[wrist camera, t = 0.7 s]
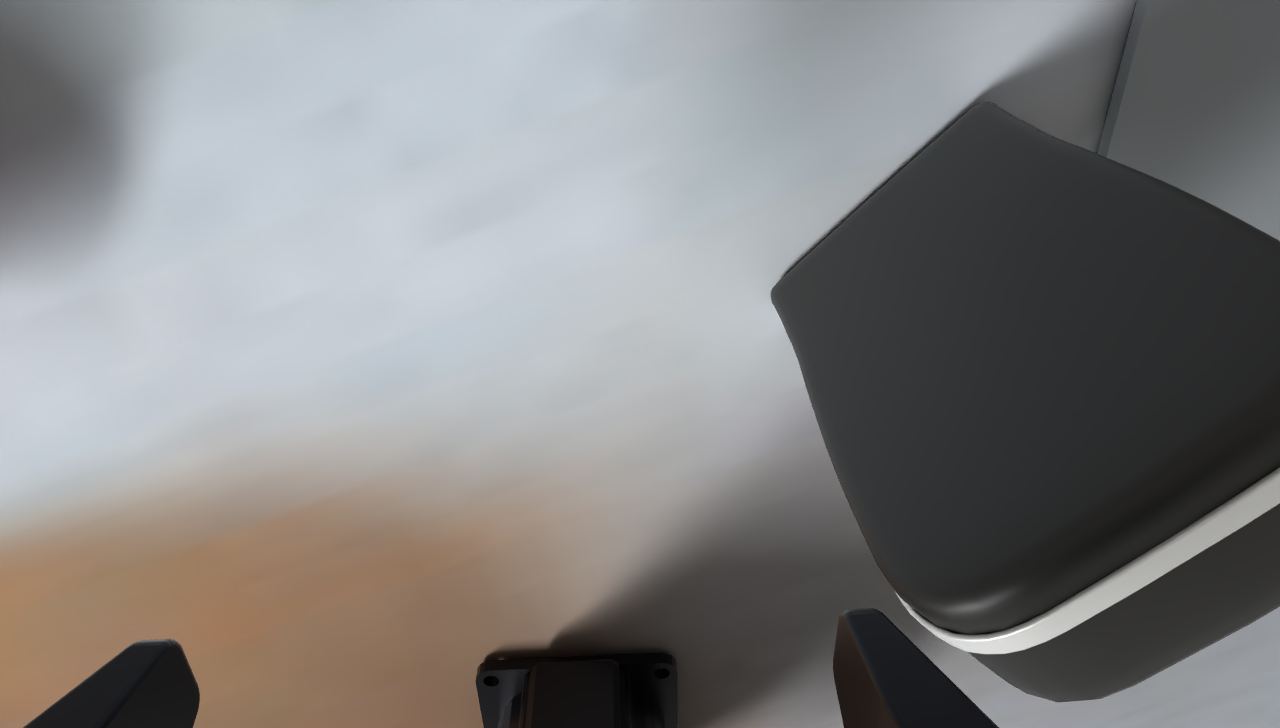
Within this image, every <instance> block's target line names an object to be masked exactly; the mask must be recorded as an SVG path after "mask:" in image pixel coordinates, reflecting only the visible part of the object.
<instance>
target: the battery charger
mask: <svg viewBox="0 0 1280 728" xmlns="http://www.w3.org/2000/svg"><path fill="white" fill-rule="evenodd" d="M771 300H772V303H773V305H774V306H775V308H776V310H777V312H778V314H779V316H780V318H781V320H782V322H783V325H784V327H785V330H786V332H787V334H788V337H789V339H790V341H791V343H792V345H793V348H794V351H795V353H796V356H797V358H798V361H799V364H800V368H801V371H802V374H803V378H804V381H805V385H806V388H807V391H808V394H809V397H810V400H811V403H812V407H813V409H814V412H815V415H816V419H817V422H818V424H819V427H820V430H821V433H822V436H823V439H824V442H825V445H826V448H827V450H828V453H829V456H830V458H831V461H832V463H833V466H834V469H835V471H836V474H837V476H838V479H839V481H840V484H841V486H842V488H843V491H844V493H845V495H846V498H847V500H848V502H849V505H850V507H851V509H852V511H853V514H854V516H855V518H856V520H857V522H858V525H859V527H860V529H861V531H862V534H863V536H864V538H865V540H866V542H867V544H868V546H869V548H870V550H871V553H872V555H873V557H874V559H875V561H876V563H877V565H878V567H879V568H880V570H881V571H882V573H883V574H884V576H885V577H886V579H887V580H888V582H889V583H890V585H891V586H892V588H893V589H894V591H895V592H896V594H897V596H898V597H899V599H900V601H901V602H902V603H903V605H904V606H905V608H906V609H907V610H908V612H909V613H910V614H911V615H912V616H913V617H914V618H915V619H916V620H917V621H918V622H920V623H921V624H922V625H923V626H924V627H925V628H927V629H928V630H929V631H930V632H932V633H933V634H934V635H936V636H937V637H938V638H940V639H942V640H943V641H945V642H947V643H948V644H950V645H952V646H954V647H957V648H959V649H962V650H964V651H967V652H968V653H970V654H971V655H972V656H973V657H975V658H976V659H977V660H978V661H980V662H981V663H982V664H983V665H985V666H986V667H988V668H989V669H990V670H992V671H993V672H994V673H996V674H997V675H998V676H1000V677H1001V678H1003V679H1004V680H1005V681H1007V682H1008V683H1009V684H1011V685H1013V686H1015V687H1016V688H1018V689H1020V690H1022V691H1024V692H1025V693H1027V694H1031V695H1034V696H1038V697H1041V698H1045V699H1048V700H1052V701H1055V702H1068V701H1081V700H1093V699H1101V698H1104V697H1106V696H1109V695H1111V694H1114V693H1116V692H1119V691H1121V690H1124V689H1126V688H1129V687H1131V686H1134V685H1136V684H1138V683H1140V682H1142V681H1144V680H1146V679H1147V678H1149V677H1151V676H1153V675H1155V674H1157V673H1159V672H1161V671H1163V670H1164V669H1166V668H1168V667H1170V666H1172V665H1174V664H1176V663H1178V662H1179V661H1181V660H1183V659H1185V658H1187V657H1189V656H1191V655H1193V654H1194V653H1196V652H1198V651H1200V650H1202V649H1204V648H1206V647H1208V646H1210V645H1211V644H1213V643H1215V642H1217V641H1219V640H1221V639H1223V638H1225V637H1226V636H1228V635H1230V634H1232V633H1234V632H1236V631H1238V630H1240V629H1241V628H1243V627H1245V626H1247V625H1249V624H1251V623H1253V622H1254V621H1256V620H1258V619H1259V618H1261V617H1263V616H1264V615H1266V614H1268V613H1269V612H1271V611H1273V610H1275V609H1276V608H1278V607H1280V241H1279V240H1277V239H1276V238H1274V237H1272V236H1270V235H1268V234H1267V233H1265V232H1263V231H1261V230H1259V229H1257V228H1255V227H1254V226H1252V225H1250V224H1248V223H1246V222H1244V221H1243V220H1241V219H1239V218H1237V217H1235V216H1233V215H1231V214H1229V213H1228V212H1226V211H1224V210H1222V209H1220V208H1218V207H1216V206H1214V205H1212V204H1210V203H1208V202H1206V201H1204V200H1202V199H1200V198H1198V197H1196V196H1194V195H1192V194H1190V193H1187V192H1185V191H1183V190H1181V189H1179V188H1177V187H1175V186H1173V185H1170V184H1168V183H1166V182H1164V181H1162V180H1159V179H1157V178H1155V177H1152V176H1150V175H1148V174H1145V173H1143V172H1140V171H1138V170H1136V169H1133V168H1131V167H1128V166H1126V165H1123V164H1121V163H1118V162H1116V161H1114V160H1111V159H1109V158H1107V157H1104V156H1101V155H1099V154H1096V153H1094V152H1092V151H1089V150H1086V149H1084V148H1081V147H1078V146H1076V145H1073V144H1070V143H1067V142H1065V141H1062V140H1060V139H1058V138H1055V137H1053V136H1051V135H1049V134H1047V133H1045V132H1043V131H1041V130H1039V129H1037V128H1035V127H1034V126H1032V125H1030V124H1028V123H1026V122H1024V121H1022V120H1020V119H1018V118H1016V117H1015V116H1013V115H1011V114H1010V113H1008V112H1006V111H1005V110H1003V109H1001V108H1000V107H998V106H997V105H995V104H993V103H990V102H982V103H978V104H977V105H975V106H974V107H973V108H971V109H970V110H969V111H968V112H967V113H965V114H964V115H963V116H962V117H961V118H960V119H959V120H957V121H956V122H955V123H954V124H953V125H952V126H951V127H949V128H948V129H947V130H946V131H945V132H944V133H943V134H941V135H940V136H939V137H938V138H937V139H936V140H935V141H933V142H932V143H931V144H930V145H929V146H928V147H927V148H925V149H924V150H923V151H922V152H921V153H920V154H919V155H918V156H916V157H915V158H914V159H913V160H912V161H911V162H910V163H909V164H907V165H906V166H905V167H904V168H903V169H902V170H901V171H900V172H899V173H897V174H896V175H895V176H894V177H893V178H892V179H891V180H890V181H888V182H887V183H886V184H885V185H884V186H883V187H882V188H881V189H879V190H878V191H877V192H876V193H875V194H874V195H873V196H872V197H870V198H869V199H868V200H867V201H866V202H865V203H864V204H863V205H862V206H860V207H859V208H858V209H857V210H856V211H855V212H854V213H853V214H852V215H851V216H850V217H848V218H847V219H846V220H845V221H844V222H843V223H842V224H841V225H840V226H839V227H837V228H836V229H835V230H834V231H833V232H832V233H831V234H830V235H829V236H828V237H826V238H825V239H824V240H823V241H822V242H821V243H820V244H819V245H818V246H817V247H815V248H814V249H813V250H812V251H811V252H810V253H809V254H808V255H807V256H806V257H805V258H804V259H802V260H801V261H800V262H799V263H798V264H797V265H796V266H795V267H794V268H793V269H792V270H791V271H790V272H788V273H787V274H786V275H785V276H784V277H783V278H782V279H781V280H780V281H779V282H778V283H777V284H776V285H775V286H774V287H773V288H772V291H771Z"/></svg>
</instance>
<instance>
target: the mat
mask: <svg viewBox="0 0 1280 728" xmlns="http://www.w3.org/2000/svg"><path fill="white" fill-rule="evenodd" d="M1097 154H1099V155H1101V156H1104V157H1107V158H1109V159H1111V160H1114V161H1116V162H1118V163H1121V164H1123V165H1126V166H1128V167H1131V168H1133V169H1136V170H1138V171H1140V172H1143V173H1145V174H1148V175H1150V176H1152V177H1155V178H1157V179H1159V180H1162V181H1164V182H1166V183H1168V184H1170V185H1173V186H1175V187H1177V188H1179V189H1181V190H1183V191H1185V192H1187V193H1190V194H1192V195H1194V196H1196V197H1198V198H1200V199H1202V200H1204V201H1206V202H1208V203H1210V204H1212V205H1214V206H1216V207H1218V208H1220V209H1222V210H1224V211H1226V212H1228V213H1229V214H1231V215H1233V216H1235V217H1237V218H1239V219H1241V220H1243V221H1244V222H1246V223H1248V224H1250V225H1252V226H1254V227H1255V228H1257V229H1259V230H1261V231H1263V232H1265V233H1267V234H1268V235H1270V236H1272V237H1274V238H1276V239H1277V240H1279V241H1280V0H1137V2H1136V6H1135V10H1134V14H1133V18H1132V21H1131V25H1130V29H1129V33H1128V37H1127V40H1126V44H1125V48H1124V52H1123V56H1122V60H1121V63H1120V67H1119V71H1118V75H1117V79H1116V82H1115V86H1114V90H1113V94H1112V98H1111V101H1110V105H1109V109H1108V113H1107V117H1106V120H1105V124H1104V128H1103V132H1102V136H1101V140H1100V143H1099V147H1098V151H1097Z"/></svg>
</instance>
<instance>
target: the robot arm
mask: <svg viewBox="0 0 1280 728" xmlns="http://www.w3.org/2000/svg"><path fill="white" fill-rule="evenodd" d="M660 668H663V669H660ZM833 671H834V679H835V685H836V690H837V695H838V700H839V705H840V710H841V715H842V720H843V725H844V728H999V727H998V726H997V725H996V724H995V723H994V722H993V721H992V720H991V719H990V718H989V717H988V716H986V715H985V714H984V713H983V712H982V711H981V710H980V709H979V708H978V707H977V706H976V705H975V704H974V703H973V702H972V701H971V700H970V699H969V698H968V697H967V696H966V695H965V694H964V693H963V692H962V691H961V690H960V689H959V688H958V687H957V686H956V685H955V684H954V683H953V682H952V681H951V680H950V679H949V678H948V677H947V676H946V675H945V674H944V673H943V672H942V671H941V670H940V669H939V668H938V667H937V666H936V665H935V664H934V663H933V662H932V661H931V660H930V659H929V658H928V657H927V656H925V655H924V654H923V653H922V652H921V651H920V650H919V649H918V648H917V647H916V646H915V645H914V644H913V643H912V642H911V641H910V640H909V639H908V638H907V637H906V636H905V635H904V634H903V633H902V632H901V631H900V630H899V629H898V628H897V627H896V626H895V625H894V624H893V623H892V622H891V621H890V620H889V619H888V618H887V617H886V616H885V615H884V614H883V613H882V612H880V611H878V610H876V609H848V610H844V611H843V612H842V613H841V615H840V617H839V622H838V629H837V636H836V643H835V651H834V658H833ZM476 686H477V691H478V697H479V703H480V708H481V714H482V719H483V725H484V728H677V665H676V660H675V658H674V657H673V656H672V655H669V654H667V653H648V654H626V655H603V656H580V657H558V658H535V659H513V660H491V661H485V662H484V663H482V664H480V666H479V667H478V670H477V676H476ZM199 701H200V694H199V688H198V684H197V682H196V680H195V677H194V675H193V673H192V670H191V668H190V666H189V663H188V661H187V658H186V656H185V654H184V651H183V649H182V647H181V645H180V644H179V643H178V642H176V641H175V640H171V639H162V640H142V641H138V642H135V643H133V644H132V645H130V646H129V647H127V648H126V649H125V650H123V651H122V652H121V653H119V654H118V655H117V656H116V657H114V658H113V659H112V660H110V661H109V662H108V663H106V664H105V665H104V666H102V667H101V668H100V669H99V670H97V671H96V672H95V673H93V674H92V675H91V676H89V677H88V678H87V679H86V680H84V681H83V682H82V683H80V684H79V685H78V686H76V687H75V688H74V689H73V690H71V691H70V692H69V693H67V694H66V695H65V696H63V697H62V698H61V699H60V700H58V701H57V702H56V703H54V704H53V705H52V706H50V707H49V708H48V709H47V710H45V711H44V712H43V713H41V714H40V715H39V716H37V717H36V718H35V719H34V720H32V721H31V722H30V723H28V724H27V725H26V726H24V727H23V728H193V725H194V722H195V718H196V715H197V712H198V708H199Z"/></svg>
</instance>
